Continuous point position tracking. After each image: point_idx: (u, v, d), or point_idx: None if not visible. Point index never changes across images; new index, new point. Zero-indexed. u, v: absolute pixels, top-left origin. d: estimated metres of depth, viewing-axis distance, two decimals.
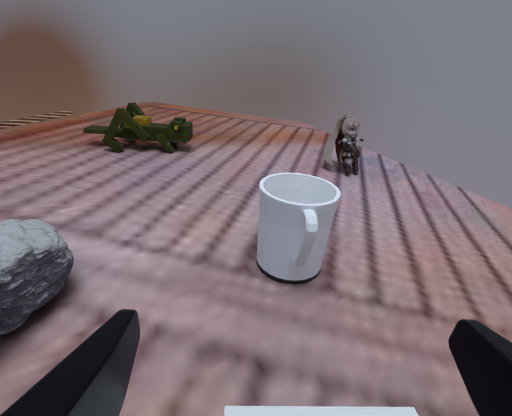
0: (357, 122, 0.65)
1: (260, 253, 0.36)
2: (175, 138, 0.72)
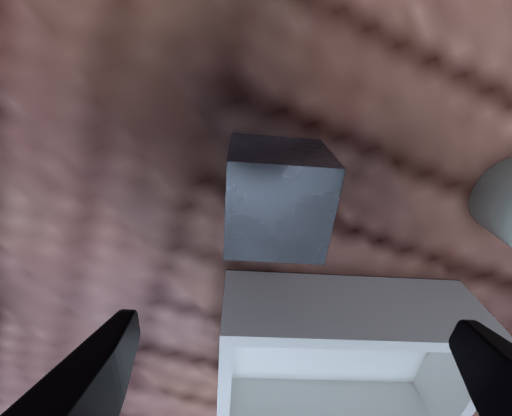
0: None
1: None
2: None
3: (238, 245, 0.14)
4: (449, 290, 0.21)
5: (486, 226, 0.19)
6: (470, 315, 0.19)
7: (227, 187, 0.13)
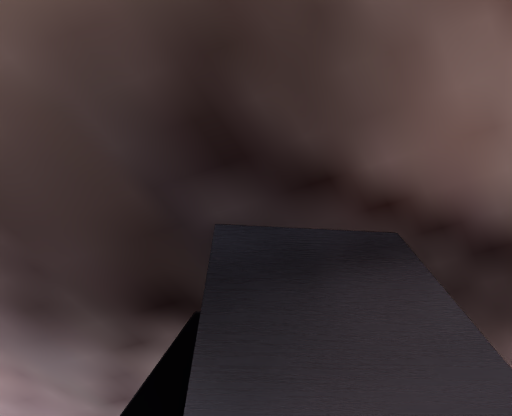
0: None
1: None
2: None
3: None
4: None
5: None
6: None
7: None
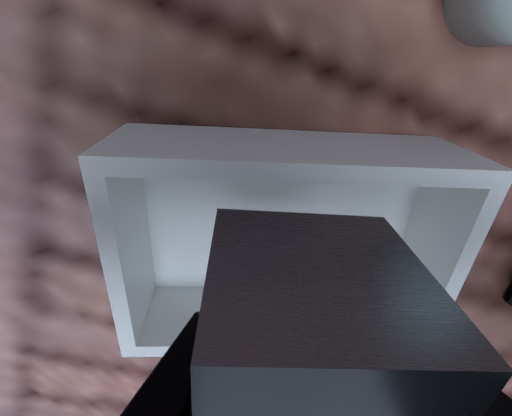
0: None
1: None
2: None
3: None
4: (423, 140, 0.16)
5: (467, 23, 0.13)
6: (449, 153, 0.14)
7: (195, 412, 0.05)
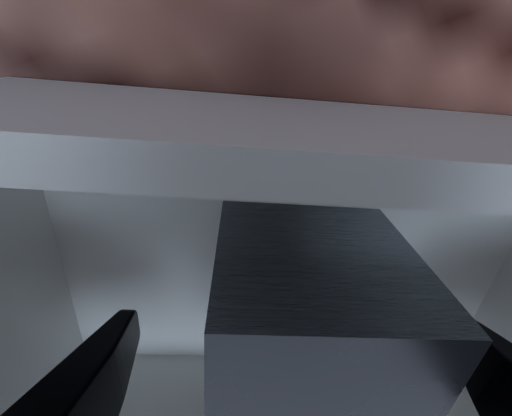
0: None
1: None
2: None
3: None
4: None
5: None
6: None
7: (207, 378, 0.06)
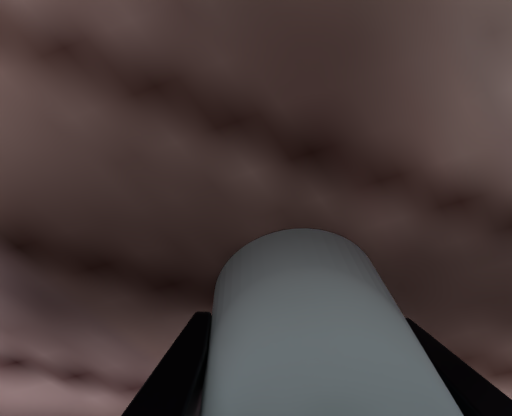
0: None
1: None
2: None
3: None
4: None
5: None
6: None
7: None
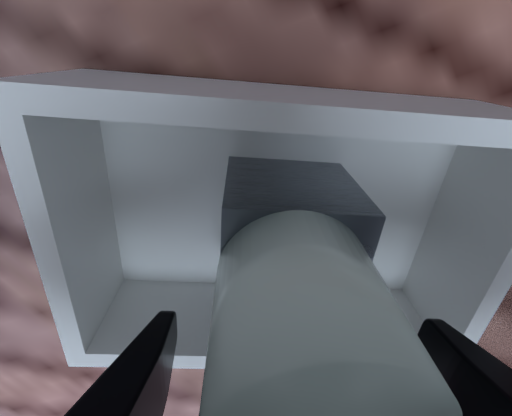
0: None
1: None
2: None
3: None
4: (459, 101, 0.13)
5: None
6: (500, 110, 0.11)
7: (222, 241, 0.10)
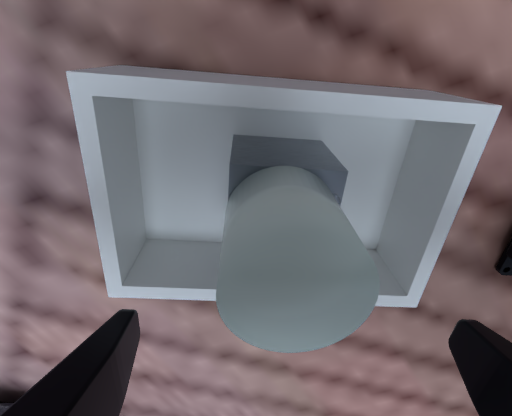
0: None
1: None
2: None
3: None
4: (413, 90, 0.16)
5: None
6: (437, 96, 0.14)
7: (229, 190, 0.13)
